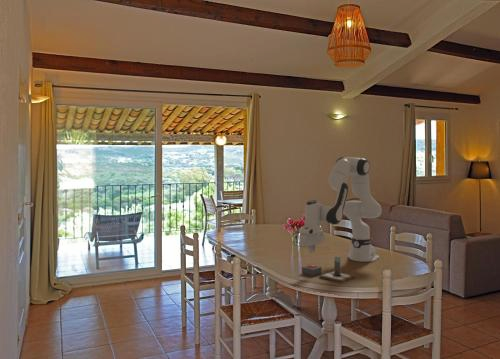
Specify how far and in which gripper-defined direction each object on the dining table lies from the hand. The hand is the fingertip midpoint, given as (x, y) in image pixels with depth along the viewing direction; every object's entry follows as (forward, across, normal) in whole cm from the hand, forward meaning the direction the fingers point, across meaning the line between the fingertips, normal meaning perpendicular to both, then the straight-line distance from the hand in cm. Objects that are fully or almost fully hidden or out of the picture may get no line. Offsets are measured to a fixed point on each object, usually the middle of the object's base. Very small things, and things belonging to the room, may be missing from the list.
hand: (312, 252), depth 248 cm
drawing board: (+12, -2, +15) cm, 20 cm away
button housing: (+12, +1, 0) cm, 12 cm away
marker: (+11, -3, +15) cm, 19 cm away
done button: (+11, +1, 0) cm, 11 cm away
